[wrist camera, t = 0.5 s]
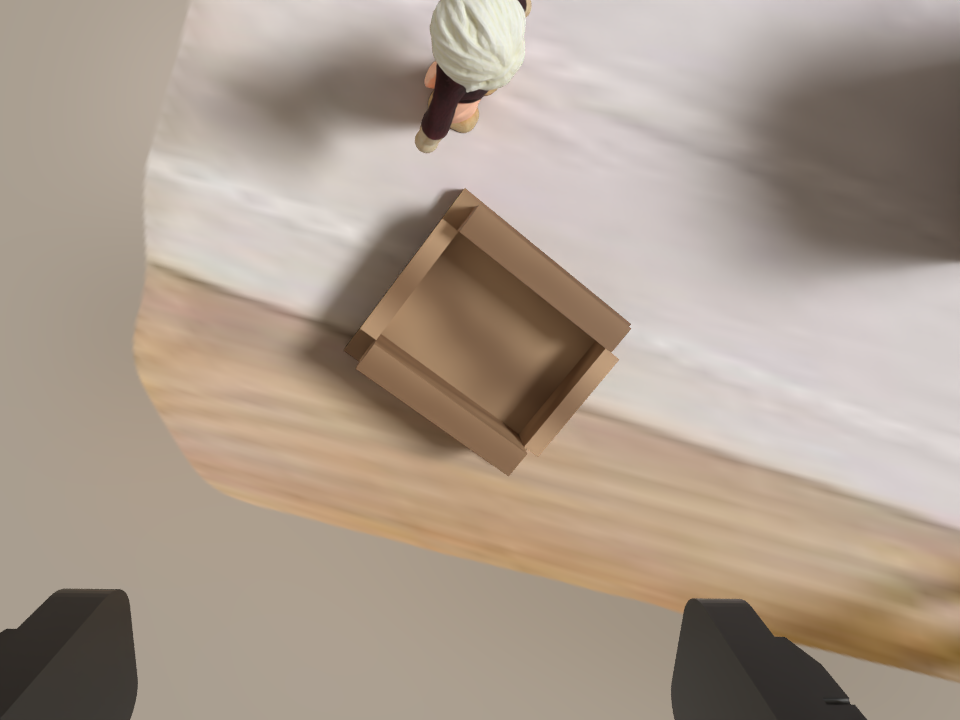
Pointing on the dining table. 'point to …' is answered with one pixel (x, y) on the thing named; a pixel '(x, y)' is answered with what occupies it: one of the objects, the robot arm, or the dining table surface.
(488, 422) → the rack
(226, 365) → the dining table surface
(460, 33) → the grandmother figurine
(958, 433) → the dining table surface
